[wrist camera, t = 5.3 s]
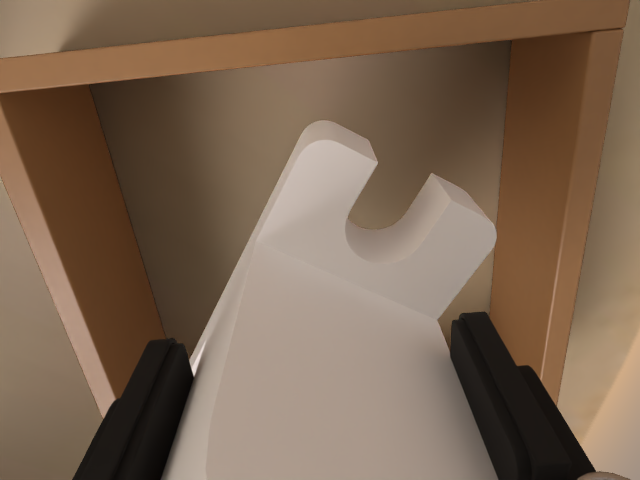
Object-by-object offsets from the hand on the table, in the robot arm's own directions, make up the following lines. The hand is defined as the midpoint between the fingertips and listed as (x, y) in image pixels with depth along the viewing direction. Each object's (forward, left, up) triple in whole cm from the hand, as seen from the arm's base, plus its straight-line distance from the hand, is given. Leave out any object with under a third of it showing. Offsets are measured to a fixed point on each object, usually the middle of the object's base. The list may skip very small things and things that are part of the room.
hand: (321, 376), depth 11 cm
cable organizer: (0, 0, -4) cm, 4 cm away
